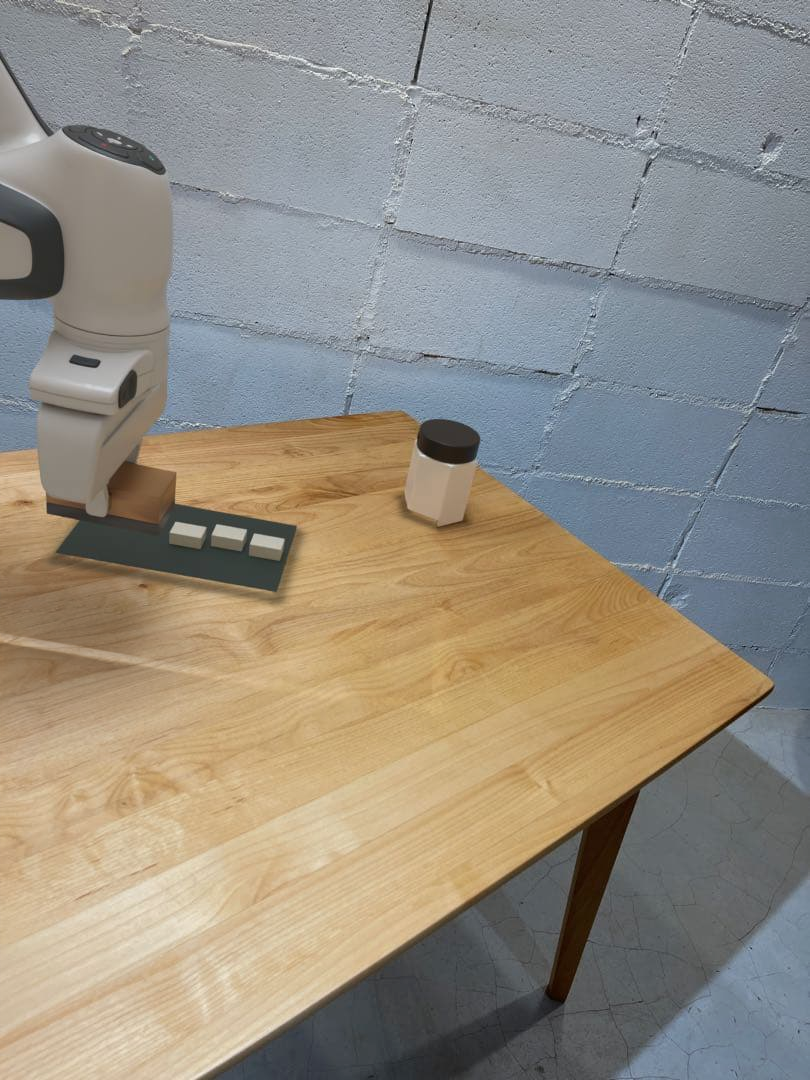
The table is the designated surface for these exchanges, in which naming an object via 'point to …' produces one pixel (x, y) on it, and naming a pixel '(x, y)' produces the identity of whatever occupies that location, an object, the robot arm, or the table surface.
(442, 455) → the jar
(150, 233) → the robot arm
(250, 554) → the white rectangular block
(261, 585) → the chalkboard
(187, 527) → the white rectangular block
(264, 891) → the table surface
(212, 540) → the white rectangular block
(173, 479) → the eraser
